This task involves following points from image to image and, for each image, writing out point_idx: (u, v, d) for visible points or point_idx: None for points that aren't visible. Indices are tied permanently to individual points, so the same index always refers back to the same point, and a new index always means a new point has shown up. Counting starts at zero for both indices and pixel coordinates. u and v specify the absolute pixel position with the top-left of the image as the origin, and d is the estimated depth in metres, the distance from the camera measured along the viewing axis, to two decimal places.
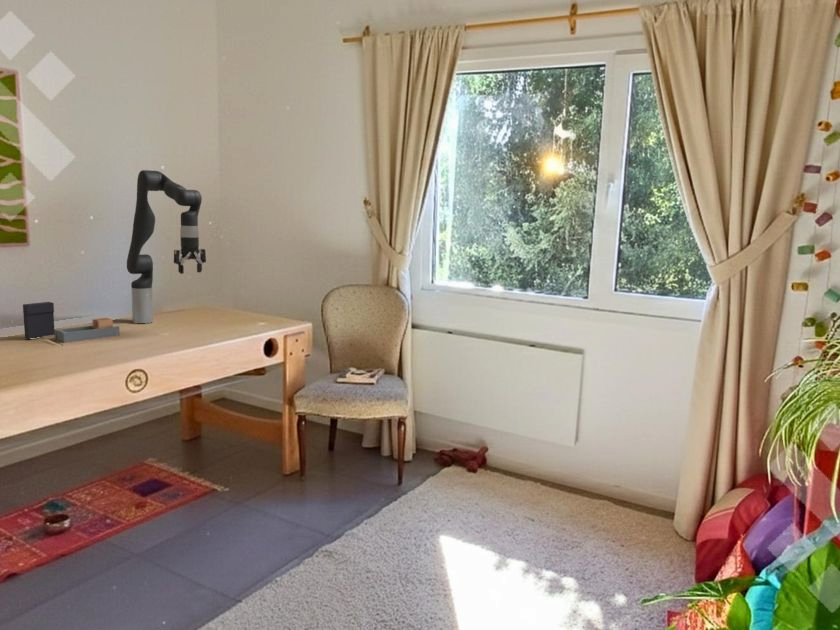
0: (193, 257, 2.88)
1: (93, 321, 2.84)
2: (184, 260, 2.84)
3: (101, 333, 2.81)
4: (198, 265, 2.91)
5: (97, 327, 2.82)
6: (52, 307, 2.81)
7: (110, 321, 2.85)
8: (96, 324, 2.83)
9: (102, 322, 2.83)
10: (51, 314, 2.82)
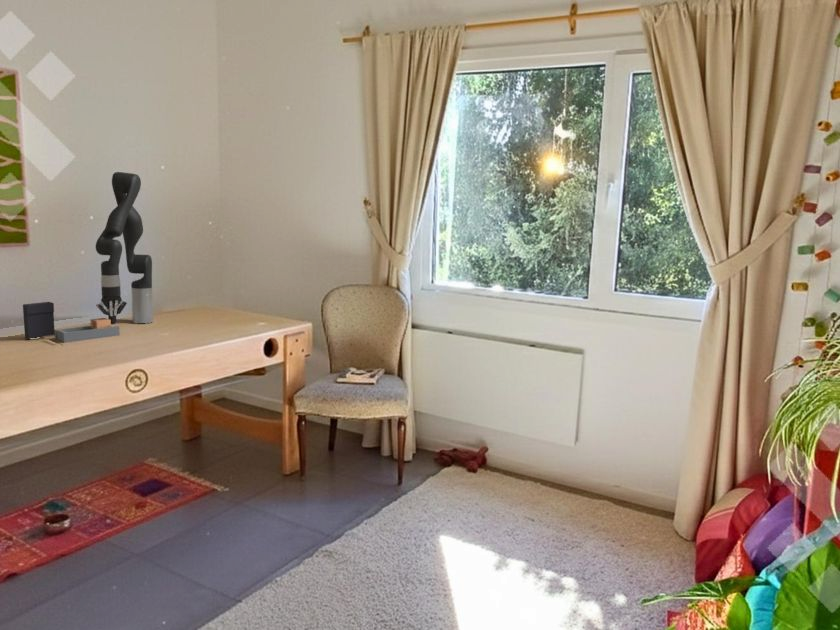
0: (112, 304, 2.86)
1: (91, 321, 2.84)
2: (111, 310, 2.86)
3: (101, 333, 2.81)
4: None
5: (95, 327, 2.82)
6: (52, 307, 2.81)
7: (108, 321, 2.84)
8: (94, 325, 2.82)
9: (100, 322, 2.82)
10: (51, 314, 2.82)
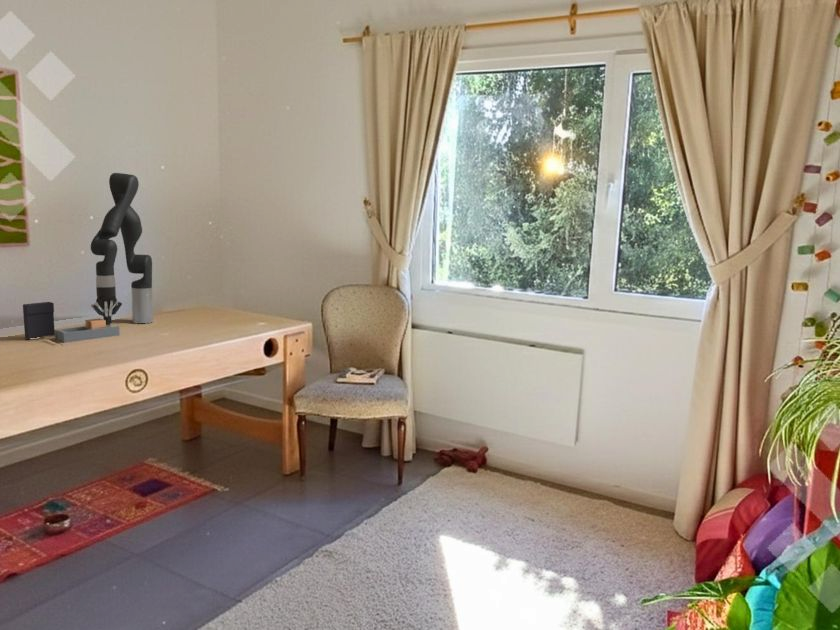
0: (107, 305, 2.85)
1: (86, 322, 2.82)
2: (106, 311, 2.85)
3: (101, 333, 2.81)
4: None
5: (90, 328, 2.80)
6: (52, 307, 2.81)
7: (103, 322, 2.83)
8: (89, 325, 2.81)
9: (95, 323, 2.80)
10: (51, 314, 2.82)
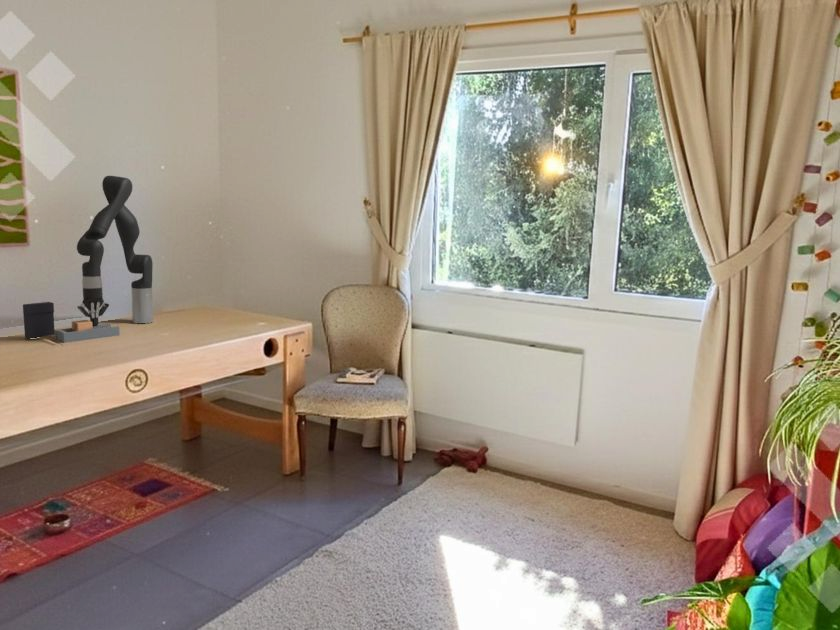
0: (93, 306, 2.80)
1: (72, 323, 2.78)
2: (93, 312, 2.80)
3: (101, 333, 2.81)
4: None
5: (76, 330, 2.76)
6: (52, 307, 2.81)
7: (90, 323, 2.79)
8: (75, 327, 2.76)
9: (81, 324, 2.76)
10: (51, 314, 2.82)
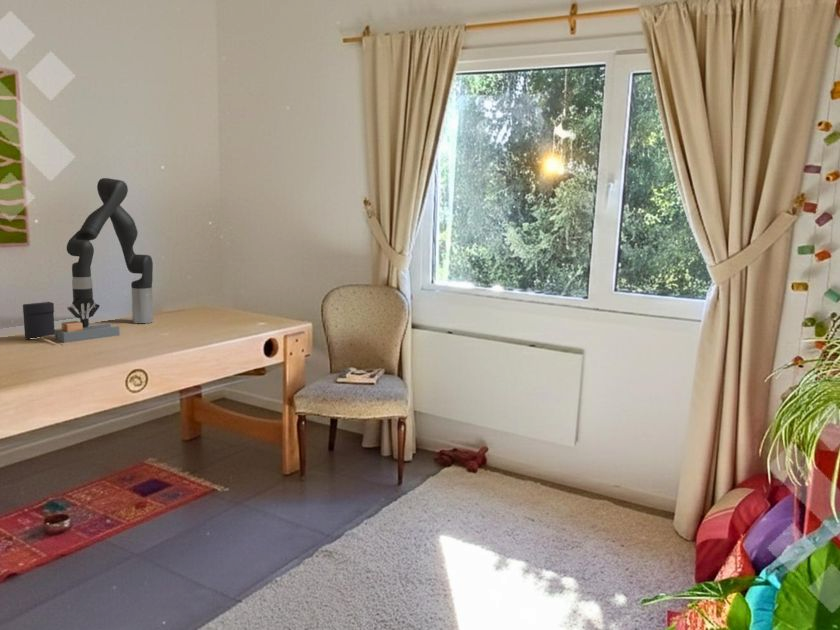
0: (84, 307, 2.77)
1: (62, 325, 2.75)
2: (83, 313, 2.77)
3: (101, 333, 2.81)
4: None
5: (66, 331, 2.73)
6: (52, 307, 2.81)
7: (80, 325, 2.75)
8: (65, 328, 2.73)
9: (71, 326, 2.73)
10: (51, 314, 2.82)
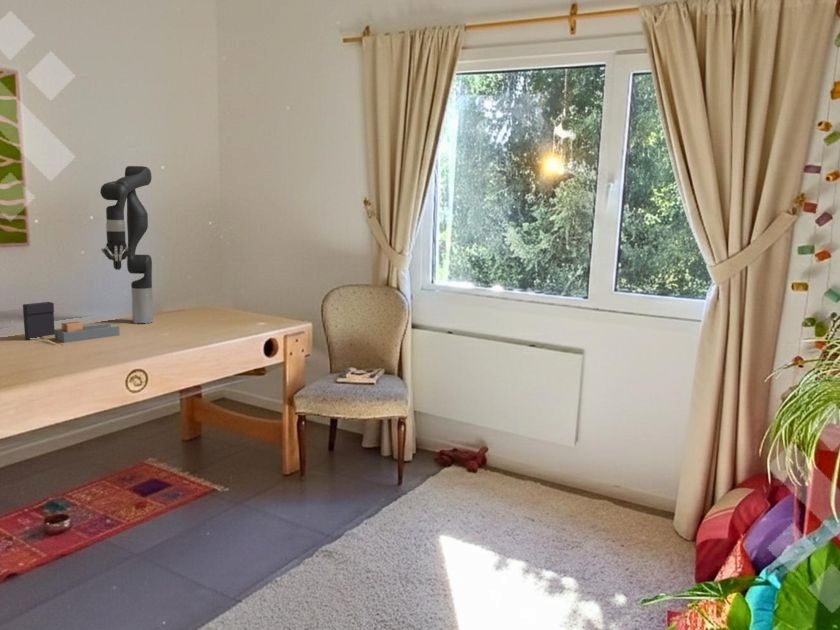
0: (117, 250, 2.88)
1: (62, 325, 2.75)
2: (116, 255, 2.88)
3: (101, 333, 2.81)
4: None
5: (66, 331, 2.73)
6: (52, 307, 2.81)
7: (80, 325, 2.75)
8: (65, 328, 2.73)
9: (71, 326, 2.73)
10: (51, 314, 2.82)
